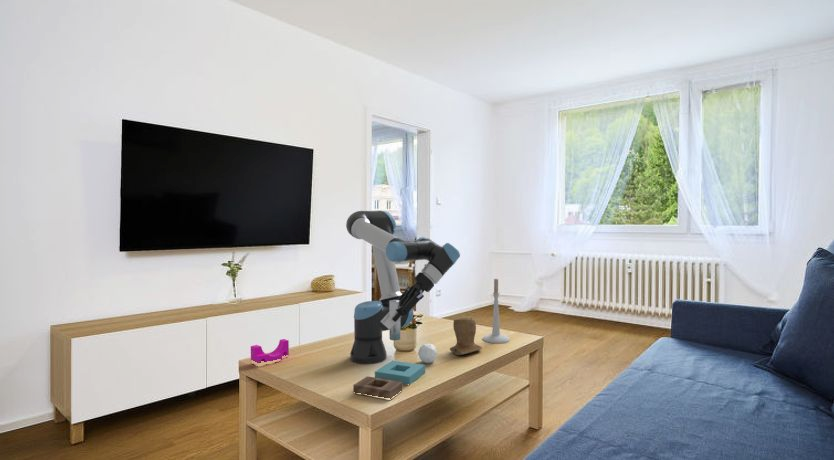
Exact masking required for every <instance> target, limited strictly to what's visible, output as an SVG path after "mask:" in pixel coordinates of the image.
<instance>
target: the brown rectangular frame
mask: <svg viewBox="0 0 834 460" xmlns="http://www.w3.org/2000/svg"><path fill="white" fill-rule="evenodd" d="M352 386H353V389H352V390H353V391H352V393H353V392H355V393H361V394H367V395H372V396H378V397H384V398H390V399H391V398H392V397H393V396H395V395H396V394H398V393H399V392H400V391H402V390H404V388H403V387H404V384H403V382H399V381H393V380H387V379H381V378H375V376H370V375H369V376H365V377H364V378H362V379H361V380H359V381H358V382H356V383H354V384H352ZM402 392H403V391H402ZM400 393H401V392H400ZM400 393H399V394H400ZM399 394H398V395H399ZM395 397H396V396H395Z"/></svg>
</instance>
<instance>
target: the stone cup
mask: <svg viewBox="0 0 834 460" xmlns="http://www.w3.org/2000/svg"><path fill="white" fill-rule="evenodd" d="M452 324H453V325H452V326H453V331H454V334H455V339H456V344H455V345H454V346H452V347H449V351H451V353H452V354H454V355H456V356H463V355H467V354H471V353H475V352H477V351H479V350H480V351H481V350H482V349H483V347H482V346H481V345H479V344H476V343H475V336H476V332H477V331H476V330H477V323H476V320H475V318H473V317H458V318H455V319H453V323H452Z"/></svg>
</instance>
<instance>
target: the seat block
mask: <svg viewBox="0 0 834 460" xmlns="http://www.w3.org/2000/svg"><path fill="white" fill-rule="evenodd" d="M425 374H426V364H419V363H414V362H406V361H399V360H391V361H389V362H388V363H386V364H384V365H383V366H381V367H380V368H378V369H376V370H375V371H374V377H375V378H381V379H387V380H393V381H399V382H403V385H405V384H409V385H408V386H410V384H411V383H412V384H413V383H414V382H416V381H417V380H419V378H420V376H421V377H422V376H423V375H425ZM416 379H417V380H416ZM415 380H416V381H415ZM412 384H411V385H412Z"/></svg>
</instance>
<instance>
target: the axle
mask: <svg viewBox="0 0 834 460" xmlns="http://www.w3.org/2000/svg"><path fill="white" fill-rule="evenodd" d="M389 302H390V317H391V316H392V315H393V313H394V312H395V311H396V309H399V308H400V300H390V301H389ZM401 330H402V329H401V328H400V318H399V320H398V321H397V322H396V323H395V324H394V325H393V326H392V327H391V328H390V330H389V340H390V341H400V340H401V338H402V337H401V336H402V335H401Z"/></svg>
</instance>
